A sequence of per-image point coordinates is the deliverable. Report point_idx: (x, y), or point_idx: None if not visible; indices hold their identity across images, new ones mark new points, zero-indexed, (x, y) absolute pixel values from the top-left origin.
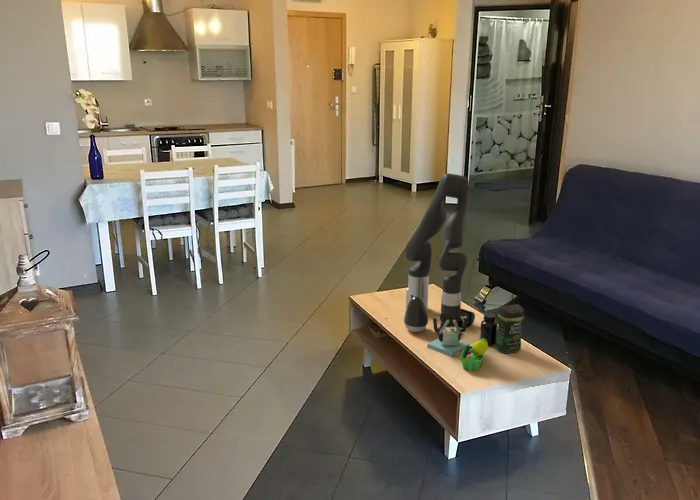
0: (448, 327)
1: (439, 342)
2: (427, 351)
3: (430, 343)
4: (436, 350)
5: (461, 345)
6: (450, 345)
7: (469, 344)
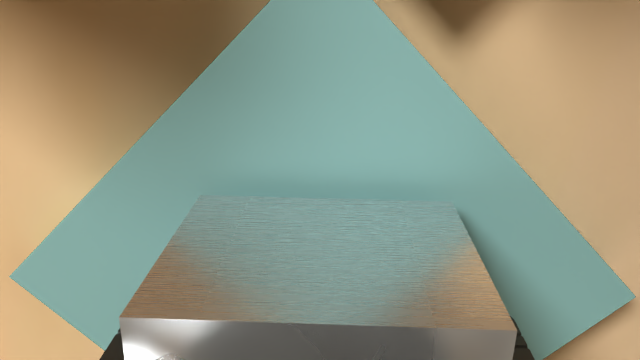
0: (316, 324)
1: None
2: (45, 353)
3: (52, 271)
4: None
5: None
6: None
7: (624, 295)
